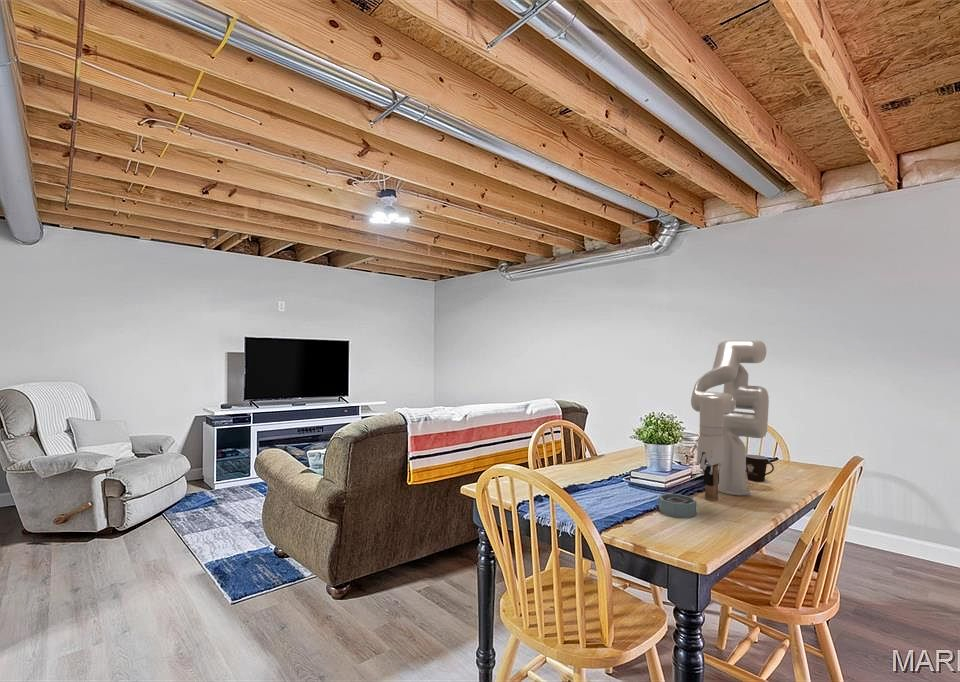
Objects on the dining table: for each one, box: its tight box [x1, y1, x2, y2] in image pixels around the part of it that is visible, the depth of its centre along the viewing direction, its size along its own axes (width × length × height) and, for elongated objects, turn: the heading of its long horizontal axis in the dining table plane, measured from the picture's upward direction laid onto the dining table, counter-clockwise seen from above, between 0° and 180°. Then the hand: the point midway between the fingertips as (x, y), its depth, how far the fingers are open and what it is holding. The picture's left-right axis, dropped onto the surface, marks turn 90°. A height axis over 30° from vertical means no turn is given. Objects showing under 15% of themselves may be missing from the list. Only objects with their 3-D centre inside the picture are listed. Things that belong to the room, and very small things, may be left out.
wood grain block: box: [704, 465, 719, 503], centre depth 168 cm, size 3×3×12 cm
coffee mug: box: [746, 454, 775, 483], centre depth 209 cm, size 12×9×10 cm
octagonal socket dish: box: [658, 493, 697, 519], centre depth 167 cm, size 11×11×4 cm
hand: (711, 483), depth 168 cm, fingers closed on wood grain block, 3 cm apart
